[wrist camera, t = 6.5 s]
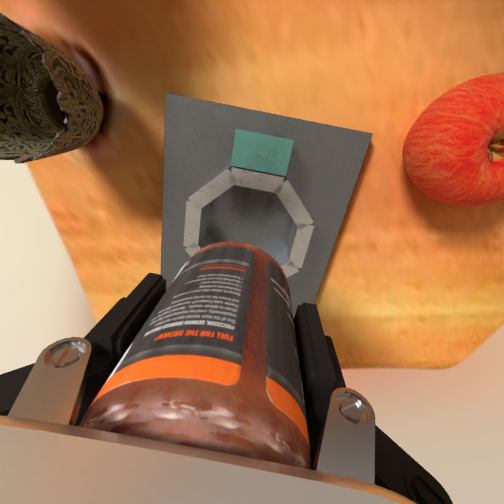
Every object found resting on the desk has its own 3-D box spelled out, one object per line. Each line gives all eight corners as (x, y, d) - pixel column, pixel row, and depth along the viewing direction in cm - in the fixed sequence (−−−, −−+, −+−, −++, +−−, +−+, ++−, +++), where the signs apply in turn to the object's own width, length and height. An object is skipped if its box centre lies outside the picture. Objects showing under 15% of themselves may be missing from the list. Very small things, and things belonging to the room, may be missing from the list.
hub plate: (171, 94, 20) (147, 85, 16) (367, 133, 20) (389, 133, 16) (164, 283, 28) (147, 307, 24) (307, 310, 28) (313, 338, 24)
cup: (47, 30, 19) (-93, -37, 12) (141, 80, 20) (66, 48, 13) (37, 129, 22) (-78, 126, 15) (119, 169, 23) (49, 184, 16)
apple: (521, 122, 19) (672, 113, 12) (438, 210, 22) (518, 245, 15) (443, 60, 18) (560, 8, 11) (367, 162, 21) (417, 176, 14)
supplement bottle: (159, 271, 14) (-170, 660, 4) (249, 214, 12) (125, 635, 2) (223, 344, 16) (131, 741, 5) (309, 303, 14) (418, 765, 4)
